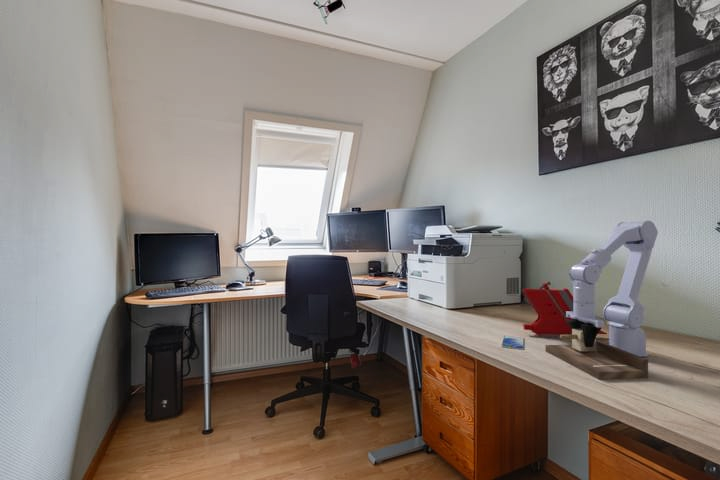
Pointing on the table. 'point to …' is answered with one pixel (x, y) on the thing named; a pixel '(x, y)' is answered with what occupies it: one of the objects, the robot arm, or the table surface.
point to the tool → (550, 311)
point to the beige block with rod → (578, 340)
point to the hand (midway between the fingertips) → (583, 344)
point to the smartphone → (513, 342)
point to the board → (603, 361)
